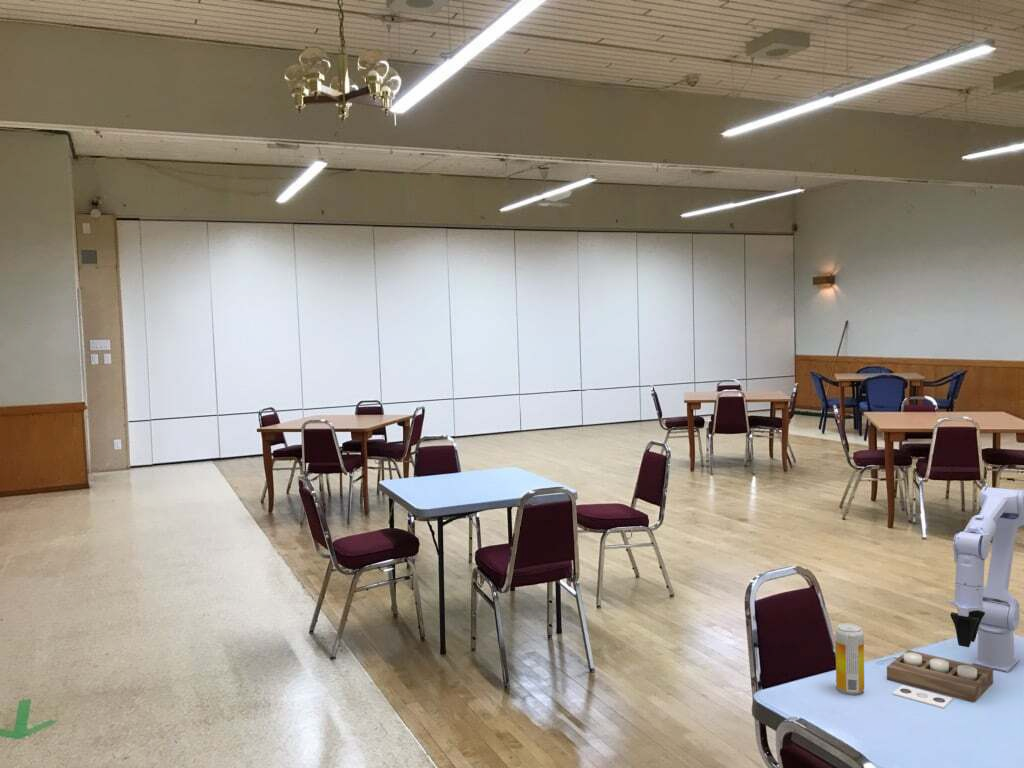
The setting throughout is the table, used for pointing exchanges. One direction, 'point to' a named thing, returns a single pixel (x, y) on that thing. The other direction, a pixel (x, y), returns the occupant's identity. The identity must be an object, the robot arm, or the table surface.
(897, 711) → the table surface
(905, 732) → the table surface
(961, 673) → the right button
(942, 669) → the middle button
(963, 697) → the button panel
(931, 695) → the card
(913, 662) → the left button
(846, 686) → the beer can
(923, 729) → the table surface
